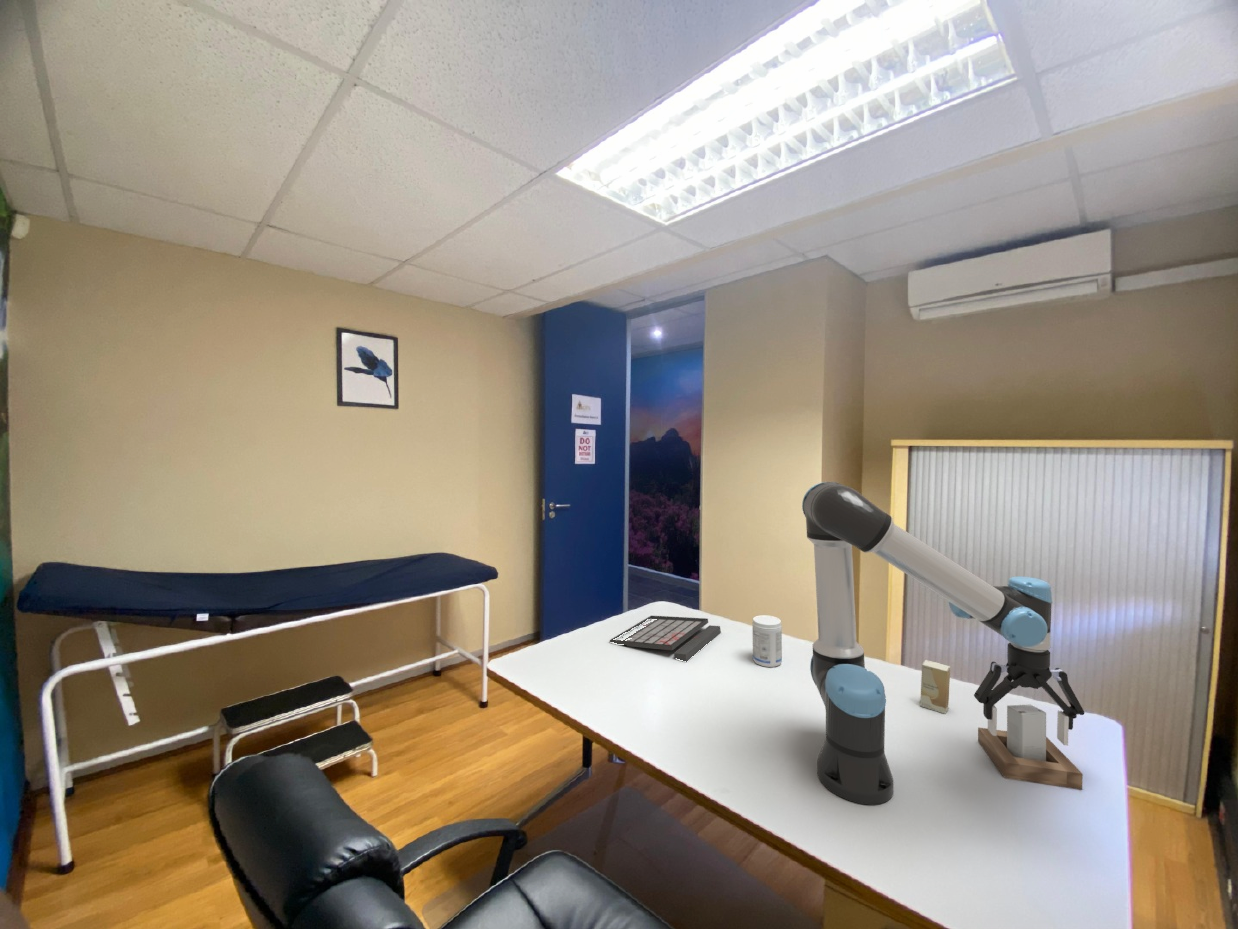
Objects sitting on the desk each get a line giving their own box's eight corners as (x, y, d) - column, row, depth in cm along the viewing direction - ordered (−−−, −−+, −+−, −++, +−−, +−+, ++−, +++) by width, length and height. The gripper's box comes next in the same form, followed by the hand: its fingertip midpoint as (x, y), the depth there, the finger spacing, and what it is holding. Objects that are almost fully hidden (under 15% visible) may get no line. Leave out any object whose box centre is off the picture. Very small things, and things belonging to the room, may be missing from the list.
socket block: (1004, 777, 108) (1004, 762, 108) (977, 741, 122) (978, 727, 121) (1082, 789, 104) (1082, 773, 104) (1045, 750, 118) (1046, 736, 118)
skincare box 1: (919, 706, 138) (920, 664, 138) (923, 700, 141) (923, 659, 141) (946, 715, 134) (947, 670, 133) (949, 708, 137) (950, 665, 136)
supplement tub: (772, 654, 173) (772, 613, 173) (787, 666, 164) (787, 623, 163) (747, 657, 171) (747, 616, 170) (761, 669, 162) (761, 625, 161)
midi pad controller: (612, 658, 185) (687, 667, 168) (609, 640, 185) (684, 647, 168) (652, 627, 212) (721, 632, 194) (650, 611, 212) (718, 615, 194)
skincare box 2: (1029, 753, 115) (1029, 702, 115) (1047, 765, 111) (1047, 712, 111) (1005, 755, 115) (1005, 704, 115) (1022, 767, 110) (1022, 714, 110)
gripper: (971, 646, 112) (970, 737, 113) (1107, 659, 105) (1104, 756, 106) (959, 634, 119) (957, 720, 120) (1085, 645, 112) (1082, 736, 113)
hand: (1026, 737), depth 113 cm, fingers open, 13 cm apart
